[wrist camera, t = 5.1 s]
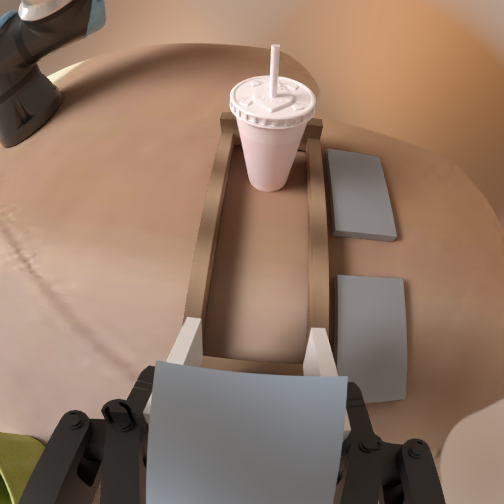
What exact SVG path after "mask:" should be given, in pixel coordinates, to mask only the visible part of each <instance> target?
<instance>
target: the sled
mask: <svg viewBox="0 0 504 504" xmlns="http://www.w3.org/2000/svg"><path fill="white" fill-rule="evenodd" d="M220 123H221V136H220V140H219V144H218V148H217V152H216V156H215V160H214V164H213V169H212V173H211V177H210V182H209V186H208V191H207V195H206V200H205V204H204V209H203V214H202V218H201V223H200V228H199V233H198V238H197V243H196V249H195V254H194V259H193V265H192V270H191V276H190V282H189V288H188V294H187V300H186V306H185V312H184V319H183V325H184V323H185V321H186V318H187V317H192V318H200V319H201V325H202V342H203V334H204V326H205V318H206V311H207V304H208V297H209V290H210V283H211V276H212V269H213V263H214V256H215V250H216V243H217V237H218V231H219V225H220V219H221V213H222V207H223V202H224V196H225V190H226V185H227V179H228V174H229V168H230V163H231V158H232V153H233V147H234V145H242V143H241V138H240V133H239V128H238V124H237V119H236V116H235V115H234V114H233V113H232V112H222V114H221V118H220ZM322 128H323V124H322V119H315V118H311V120H309V121H308V122H307V124H306V127H305V130H304V133H303V136H302V138H301V141H300V144H299V147H298V150H305V151H306V165H307V190H308V235H309V273H308V318H307V342H306V349H307V345H308V340H309V336H310V331H311V328H325V329H326V333H327V336H328V338H329V262H328V235H327V216H326V201H325V188H324V176H323V165H322V155H321V146H320V137H321V132H322ZM182 327H183V326H182ZM347 383H348V376H304V372H303V364H295V363H275V362H260V361H248V360H237V359H227V358H219V357H210V356H203V359H202V362H201V365H200V367H193V366H186V365H180V364H174V363H168V362H163V361H158V360H156V364H155V372H154V380H153V389H152V398H151V409H150V420H149V433H148V449H147V472H146V504H333V500H334V494H335V489H336V483H337V477H338V471H339V464H340V457H341V450H342V441H343V432H344V423H345V412H346V399H347Z"/></svg>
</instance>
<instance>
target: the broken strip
mask: <svg viewBox="0 0 504 504" xmlns="http://www.w3.org/2000/svg"><path fill="white" fill-rule="evenodd" d="M325 156H326V165H327V174H328V184H329V195H330V208H331V222H332V236H339V237H350V238H360V239H370V240H379V241H389V242H393V241H394V240H395V238H396V237H397V234H396V228H395V223H394V218H393V213H392V208H391V203H390V198H389V194H388V190H387V185H386V181H385V177H384V173H383V169H382V166H381V162H380V158H379V157H377V156H372V155H366V154H361V153H355V152H348V151H342V150H335V149H328V148H327V151H326V154H325ZM333 358H334V362H335V366H336V370H337V374H338V376H348V382H355V384H356V385H357V386H358V387H359V388H360V389H361V392H362V396H363V400H364V402H365V403H377V402H386V401H395V400H402V399H406V390H407V326H406V309H405V296H404V285H403V279H400V278H383V277H366V276H350V275H337V276H336V277H335V278H334V355H333Z"/></svg>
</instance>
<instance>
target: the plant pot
mask: <svg viewBox="0 0 504 504" xmlns="http://www.w3.org/2000/svg"><path fill="white" fill-rule="evenodd" d="M44 449H45V446H44V445H43V444H42V443H41V442H40V441H38V440H36V439H34V438H32V437H30V436H28V435H19V434H10V433H2V432H0V504H18V503H19V500H20V498H21V496H22V494H23V491H24V489H25V487H26V485H27V483H28V481H29V479H30V476H31V474H32V472H33V470H34V468H35V466H36V464H37V462H38V460H39V458H40V456H41V454H42V453H43V451H44Z"/></svg>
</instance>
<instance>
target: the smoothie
mask: <svg viewBox="0 0 504 504" xmlns="http://www.w3.org/2000/svg"><path fill="white" fill-rule="evenodd" d="M279 57H280V45H278V44H273V45H272V46H271V64H270V76H258V77H253V78H249V79H246V80H244V81H242V82H240V83H238V84H237V85H236V86H235V87H234V88H233V89H232V90H231V93H230V109H231V111H232V113H233V114H234V115H235V116H236V119H237V124H238V128H239V133H240V138H241V143H242V148H243V152H244V157H245V162H246V167H247V172H248V177H249V181H250V183H251V184H252V186H253V187H255V188H256V189H258V190H260V191H264V192H273V191H277V190H279V189H281V188H282V187H283V186H284V185H285V183H286V181H287V178H288V175H289V172H290V170H291V167H292V164H293V161H294V158H295V156H296V153H297V150H298V147H299V144H300V141H301V138H302V136H303V133H304V130H305V127H306V124H307V122H308V121H309V120H311V118H312V117H313V116H314V114H315V105H316V98H315V95H314V93H313V92H312V91H311V90H310V89H309V88H308V87H307V86H305V85H304V84H302V83H300V82H298V81H295V80H292V79H289V78H285V77H279V76H278V72H279Z"/></svg>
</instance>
